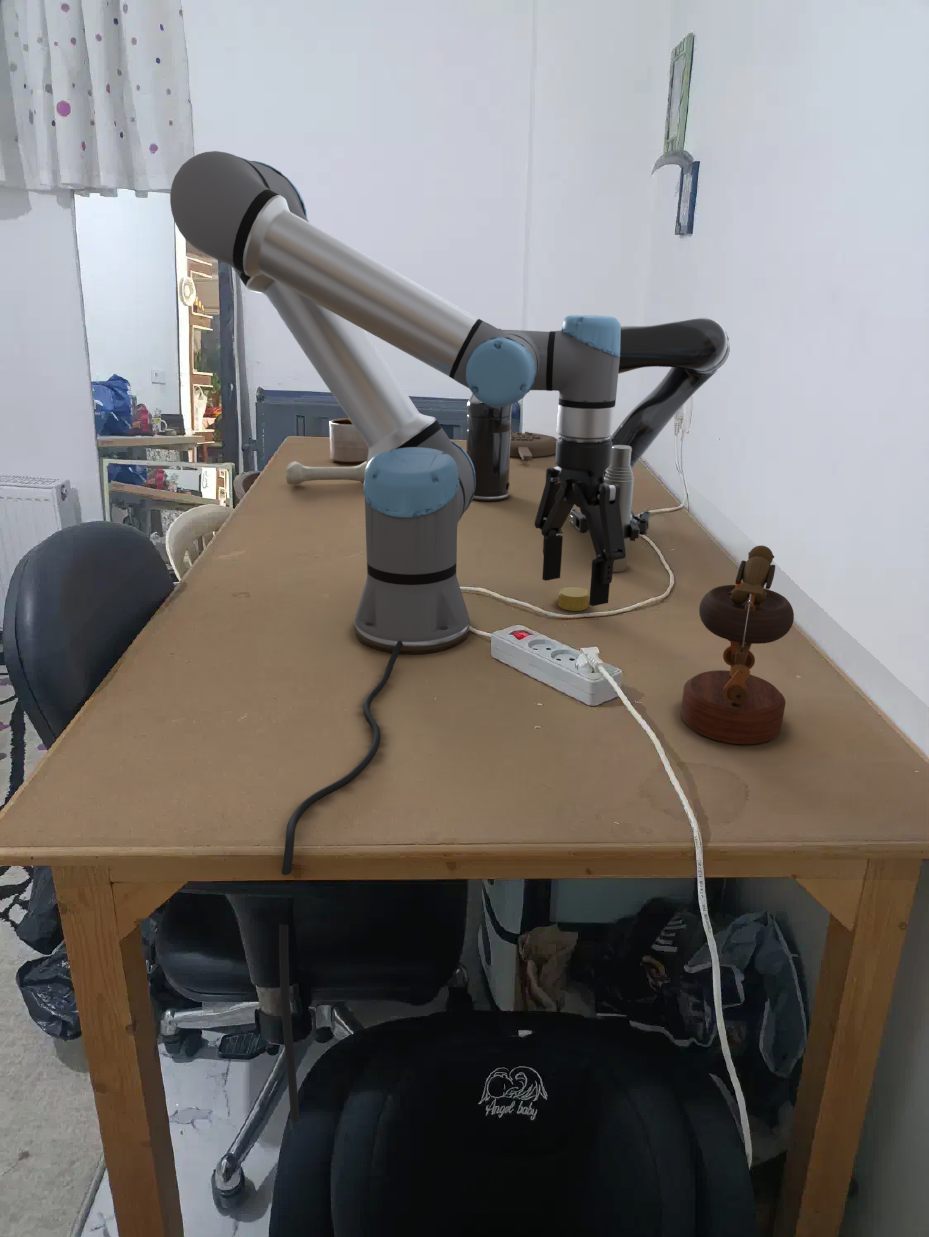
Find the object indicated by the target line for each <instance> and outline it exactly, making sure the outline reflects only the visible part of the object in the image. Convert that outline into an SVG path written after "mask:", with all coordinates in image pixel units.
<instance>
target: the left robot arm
mask: <svg viewBox="0 0 929 1237" xmlns="http://www.w3.org/2000/svg"><path fill="white" fill-rule="evenodd" d="M169 202H170V203H169V204H170V210H171V214H172V218H173V221H174V223H175V225H176V227H177V230H178V231H179V233H180V234H181V235H182V237H183V239H185V241H186V242H188V244H189V245H190V246H192V247H193V248H194V249H196V250H197V251H198V252H199V253H202V254H204V255H205V256H208V257H209V258H212V259H215V260H217V261H219V262H220V263H223V264H225V265H227V266H228V267H231V268H233V270H234V271H235V273H236V275H237V276H238V277H239V280H241V282H242V283H243V285H244V286H245V288H246V289H247V290H248V291H249V292H254V293H258V294H262V295H264V296H265V297H266V298H267V300H268V301H269V302H270V304H271V305H272V307H273V309H274V310H275V311H276V313H277V315H278V317H280V319H281V320H282V322H283V323H284V325H285V326H286V328H287V330H288V331H289V332H290V334H291V335H292V337H293V338H294V340H295V341H296V342H297V344H298V346H299V348H300V349H301V350H302V352H303V353H304V354H305V356H306V357H307V359H308V361H309V362H310V364H311V365H312V366H313V368H314V369H315V371H316V373H317V374H318V375H319V377H320V379H321V380H322V382H323V383H324V385H326V387H327V389H328V390H329V392H330V393H331V395H332V396H333V397H334V399H335V400H336V402H337V403H338V404H339V406H340V408H341V410H342V411H343V412H344V414H345V415H346V418H349V420H350V421H351V423H352V424H353V426H354V427H355V428H356V430H357V431H358V433H359V434H360V436H361V437H362V439H363V440H364V442H365V443H366V445H367V446H368V450H369V453H368V459H367V466H366V469H365V480H364V483H362V484H363V485H362V489H363V490H362V493H363V496H364V515H365V516H364V517H365V518H364V520H365V545H366V546H365V548H366V549H365V550H366V579H365V584H364V586H363V589H362V592H361V596H360V600H359V602H358V606H357V609H356V612H355V617H354V633H355V636H356V638H357V639H358V640H359V641H360V642H362V643H363V644H365V645H367V646H368V647H371V648H374V649H377V650H380V651H384V652H390V653H391V655H390V658H389V660H388V661H387V665H386V667H385V670H384V672H383V675H382V677H381V679H380V680H379V682H377V684H376V685H375V687H373V689H371V691H370V692H369V693H368V694H367V696H366V697H365V699H364V701H363V705H362V707H363V708H362V711H363V712H362V713H363V715H364V718H365V720H366V721H367V723H368V725H369V726H370V728H371V730H372V733H373V738H372V742H371V745H370V748H369V749H368V752H366V755H365V756H364V757H363V758H362V760H361V761H360V762H359V763H358V764H357V765H356V766H355V767H354V768H353V769H352V770H351V771H350V772H349V773H347V774H346V775H344V776H343V777H341V778H340V779H338V780H336V781H334V782H333V783H331V784H329V785H327V786H325V787H323V788H321V789H319V790H317V791H316V792H313V794H311V795H309V796H308V797H307V798H306V799H304V800H303V801H302V802H301V803H300V804H299V806H298V807H297V808H296V809H295V811H294V812H293V813H292V814H291V816H290V817H289V820H288V822H287V825H286V830H285V842H284V852H283V858H282V861H283V862H282V867H281V868H282V869H281V874H282V875H283V876H288V875H290V874H291V873H292V867H293V860H294V850H295V835H296V827H297V824H298V822H299V821H300V819H301V817H302V816H303V815H304V813H305V812H306V811H307V810H308V809H309V808H311V806H313V805H314V804H315V803H317V802H318V801H319V800H322V799H323V798H325V797H328V796H329V795H330V794H332V793H334V792H336V791H338V790H340V789H342V788H343V787H345V786H347V785H348V784H350V783H351V782H352V781H354V780H355V779H356V778H357V777H358V776H359V775H360V774H361V773H362V772H363V771H364V770H365V769H366V768H367V766H368V765H369V764H370V763H371V761H372V760H373V759H374V757H375V756H376V754H377V752H378V751H379V750H378V749H379V747H380V743H381V736H382V735H381V729H380V726H379V724H378V723H377V721H376V719H375V718H374V716H373V714H372V713H371V704H372V702H373V700H374V699H375V697H376V696H377V695H378V694H379V693H380V691H382V689H383V688H384V687H385V685H386V684H387V682H388V681H389V678H390V676H391V674H392V672H393V669H394V666H395V663H396V661H397V658H398V656H399V654H425V653H433V652H439V651H443V650H446V649H449V648H452V647H455V646H457V645H458V644H460V643H462V642H463V641H464V640H466V639H467V637H468V636H469V634H470V616H469V612H468V608H467V606H466V601H465V599H464V596H463V593H462V589H461V586H460V583H459V581H458V577H457V561H458V560H457V559H458V558H457V557H458V556H457V554H458V524H459V522H460V520H461V519H462V517H463V515H464V514H465V512H466V511H467V510H468V509H469V507H470V506H471V504H472V502H473V500H474V499H473V496H474V492H475V486H476V476H475V470H474V466H473V463H472V461H471V459H470V457H469V456H468V454H467V453H466V449H464V448H463V447H462V446H460V445H459V444H458V443H456V442H455V441H453V440H451V439H450V438H449V436H448V434H447V433H446V432H445V430H444V429H443V427H442V425H441V424H440V422H439V421H438V419H437V418H436V417H434V416H430V415H426V414H423V413H420V411H419V410H418V409H417V407H416V405H415V404H414V403H413V401H412V399H411V398H410V396H409V395H408V393H407V391H406V390H405V389H404V387H403V385H402V384H401V382H400V381H399V380H398V377H397V376H396V374H395V373H394V372H393V370H392V368H391V367H390V365H389V364H388V363H387V361H386V359H385V357H384V356H383V355H382V353H381V352H380V350H379V349H378V347H377V346H376V344H375V342H374V341H373V339H372V337H371V336H370V335H373V336H375V337H377V338H378V339H380V340H382V341H383V342H385V343H386V344H387V343H388V344H390V345H391V346H392V347H395V348H396V349H399V350H400V351H402V352H404V353H405V354H407V355H409V356H411V357H413V358H414V359H416V360H419V361H420V362H422V363H424V364H425V365H427V366H428V367H431V368H433V369H435V370H436V371H439V372H440V373H442V374H443V375H445V376H447V377H448V378H450V379H452V380H454V381H455V382H457V383H458V384H460V385H462V386H464V387H465V388H467V389H469V390H470V392H471V394H472V393H473V394H474V396H475V397H476V398H477V399H478V400H480V401H481V402H482V403H484V404H486V405H489V406H493V407H504V406H508V405H511V404H516V403H518V402H520V400H523V399H524V398H525V396H526V395H527V394H528V393H530V391H547V392H553V391H555V392H557V391H558V395H559V396H558V405H557V418H556V419H557V420H556V433H557V434H558V436H559V437H558V438H557V441H556V453H555V458H554V462H555V465H556V466H551V467H547V468H546V469H545V483H544V487H543V491H542V494H541V499H540V502H539V506H538V509H537V513H536V516H535V520H534V527H535V529H539V530H540V532H541V535H542V536H543V542H542V555H543V558H542V559H543V561H542V580H543V581H546V582H547V581H552V580H557V579H561V570H562V569H561V568H562V556H563V554H562V552H563V535H561V534H563V532H564V531H563V529H562V528H563V526H564V524H565V522H566V521H567V519H568V517H569V516H570V511H571V510H573V509H574V506H576V507H577V508H579V510H580V511H581V513H582V514H583V515H585V517H586V521H587V524H588V528H589V531H588V532H589V534H590V538H591V541H592V545H593V548H594V553H595V555H596V557H595V558H593V559H592V562H591V574H590V575H591V576H590V588H589V603H588V606H591V607H596V606H600V605H605V604H609V597H610V585H611V583H612V582H613V573H614V572H613V563H614V561H615V560H619V559H624V558H625V557H626V552H625V544H624V536H623V528H622V521H621V513H620V505H619V499H620V486H619V485H618V484H616V485H609V484H606V483H605V479H604V472H605V470H606V471H607V470H608V468H609V466H610V465H611V456H612V442H611V440H610V439H609V438H610V437H611V436H612V435H613V433H614V428H615V427H614V426H615V414H616V400H617V392H618V383H619V382H618V381H619V374H618V372H619V361H620V339H621V326H622V325H621V323H620V321H619V320H618V319H617V318H616V317H614V316H610V315H596V314H595V315H594V314H593V315H592V314H585V315H584V314H582V315H580V314H572V315H566V316H565V317H564V319H563V321H562V326H561V329H560V330H561V331H560V330H550V331H544V330H543V331H542V330H523V329H521V330H519V329H502V328H497V327H496V326H494V325H492V324H491V323H488V322H487V321H484V320H482V319H480V318H479V317H477V316H475V315H474V314H473V313H471V312H468V311H467V310H465V309H463V308H462V307H460V306H457V305H456V304H454V303H453V302H451V301H450V300H448V299H445V298H444V297H442V296H440V295H439V294H436V293H435V292H433V291H431V290H430V289H428V288H426V287H425V286H423V285H421V284H419V283H417V282H415V281H414V280H412V279H410V278H408V277H406V276H405V275H403V274H401V273H400V272H398V271H396V270H394V269H392V268H391V267H389V266H388V265H386V264H384V263H382V262H380V261H378V260H376V259H374V258H373V257H371V256H369V255H367V254H366V253H364V252H362V251H361V250H359V249H357V248H355V247H354V246H352V245H351V244H348V243H346V242H345V241H343V240H341V239H339V238H338V237H336V236H334V235H332V234H330V233H328V232H327V231H325V230H323V229H322V228H319V227H318V226H316V225H315V224H312V223H311V222H310V221H309V219H308V213H307V208H306V204H305V201H304V199H303V197H302V195H301V193H300V191H299V190H298V187H297V186H296V185H295V184H294V183H293V182H292V180H290V179H289V178H288V177H287V176H286V175H285V174H283V173H282V172H281V171H280V170H278V169H276V168H274V167H273V166H272V165H270V164H266V163H264V162H261V161H256V160H249V159H246V158H243V157H240V156H237V155H235V154H233V153H230V152H225V151H218V150H212V151H204V152H201V153H198V154H196V155H194V156H192V157H190V158H189V159H187V160H186V161H185V162H184V163H183V164H181V166H180V168H179V169H178V171H177V172H176V174H175V175H174V177H173V181H172V183H171V187H170V194H169ZM369 334H370V335H369ZM595 503H596V504H597V506H593V505H594V504H595ZM580 511H579V512H580ZM604 549H605V552H604ZM616 550H617V551H616ZM278 928H279V929H278V954H279V955H278V956H279V957H278V958H279V990H280V991H279V992H280V1006H281V1019H282V1020H281V1022H282V1032H283V1043H284V1054H285V1055H284V1056H285V1065H286V1076H287V1086H288V1097H289V1112H290V1113H289V1114H290V1121H291V1122H292V1123H297V1122H298V1121H299V1120H300V1108H299V1095H298V1093H299V1092H298V1085H297V1084H298V1082H297V1071H296V1060H295V1059H296V1058H295V1049H294V1048H295V1047H294V1037H293V1026H292V1024H293V1023H292V1011H291V995H290V966H289V964H290V962H289V961H290V960H289V924H283V923H280V924H279V925H278Z"/></svg>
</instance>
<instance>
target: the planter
mask: <svg viewBox="0 0 929 1237" xmlns="http://www.w3.org/2000/svg"><path fill="white" fill-rule="evenodd" d="M328 424H329V425H328V426H329V453H330V454H329V455H330V456H329V457H330V459H331V460H332V461H333V462H335V463H341V464H362V463H363V462H365V461H367V459H368V453H369V450H368V446H367V445H366V443H365V442H364V440H363V439H362V437H361V436H360V434H359V433H358V431H357V430H356V428H355V427H354V426H353V424H352V423H351V421H350V420H349V418H348V417H342V418H341V417H340V418H335V419H334V418H333V419H331V420H329V421H328Z"/></svg>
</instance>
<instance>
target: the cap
mask: <svg viewBox="0 0 929 1237" xmlns="http://www.w3.org/2000/svg"><path fill="white" fill-rule="evenodd" d="M589 599H590V591H588V590H587V589H585V588H583V587H577V586H566V587H563V588H561V589H560V590H559V593H558V604H557V605H558V607H559V608H561V609H562V610H565V611H570V612H581V611H585V610H587V609H588V607H589Z"/></svg>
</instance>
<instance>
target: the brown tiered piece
mask: <svg viewBox="0 0 929 1237" xmlns="http://www.w3.org/2000/svg"><path fill="white" fill-rule="evenodd" d="M747 556H748V559H747V560H741V562H740V564H739V567H738V570H737V574H736V577H735V581H734V582H735V583H734V584H725V585H719V586H715V587H714V588H711V589H710V590H709V591H707V592H706V593H705V594H704V596H703V597H702V599H701V600H700V604H699V609H698V612H699V618H700V620H701V622H702V624H703V626H704V627H705V628H706V629H707V630H708V631H709V632H710V633H712V634H714V635H715V636H717V637H719V638H721V639H724V640H727V641H728V642H729V643H730V645H729V646H727V647H726V648H725V649H724V650H723V653H722V658H723V661H724V663H725V664H726V665H728V666H730V668H729V670H724V669H723V670H722V669H721V670H719V669H718V670H709V671H704V672H700V673H698V674H697V675H695V676H692V677H691V678H690V679H688V680H687V681H686V682H685V683H684V686H683V692H682V699H681V708H680V716H681V717H680V718H681V719H682V721H683V722H684V724H685V725H686V726H687V727H689V729H691V730H693V731H694V732H696V733H697V734H699V735H701V736H704V737H706V738H709V739H712V740H715V741H718V742H723V743H728V744H735V745H757V744H761V743H762V744H763V743H766V742H769V741H772V740H774V739H775V738H776V737H777V736H778V735H779V734H780V733H781V730H782V725H783V719H784V713H785V709H786V698H785V697H784V695H783V694H782V692H780V690H779V689H778V688H777V687H776V686H775V685H773V684H772V683H770V682H769V681H767V680H765V679H763V678H761V677H759V676H756V675H753V674H751V669H752V668H753V667H754V665H755V663H756V658H755V655H754V653H753V652H752V651H751V650H750V649H751V647H752V645H761V644H769V643H773V642H775V641H778V640H781V639H782V638H783V637H785V636H787V634H788V633H789V632H790V630H791V629H792V627H793V625H794V620H795V613H794V609H793V606H792V604H791V602H790V601H789V600H788V598H786V597H785V596H784V595H783V594H781V593H778V592H776V591H774V590H771V587H772V584H773V581H774V578H775V572H776V565H775V564H772V563H773V561H774V560H773V559H775V555H774V554H773V552H772V550H771V549H770V548H769V547H768V546H765V545H756V546H754V547H752V549H750V551H749V552H748V553H747Z"/></svg>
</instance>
